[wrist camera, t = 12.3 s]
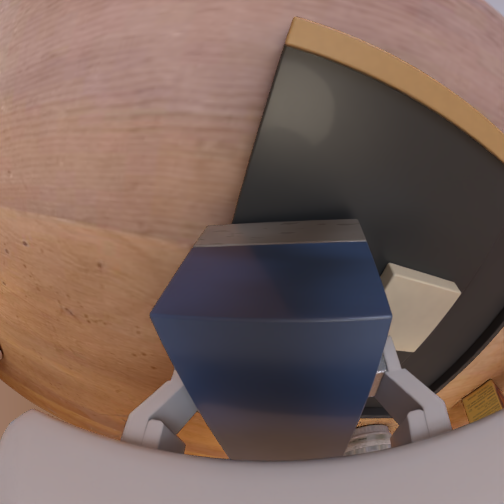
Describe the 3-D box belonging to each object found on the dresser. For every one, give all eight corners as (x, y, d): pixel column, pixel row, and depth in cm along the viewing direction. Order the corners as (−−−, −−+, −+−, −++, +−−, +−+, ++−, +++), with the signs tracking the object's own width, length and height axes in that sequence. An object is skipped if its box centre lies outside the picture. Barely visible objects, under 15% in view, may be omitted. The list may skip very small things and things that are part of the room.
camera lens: (329, 446, 25) (331, 507, 19) (338, 427, 22) (342, 501, 15) (382, 439, 24) (388, 497, 18) (399, 418, 21) (410, 487, 14)
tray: (335, 405, 19) (336, 417, 18) (502, 179, 9) (516, 188, 8) (402, 407, 20) (405, 417, 19) (552, 228, 9) (562, 237, 8)
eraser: (247, 391, 14) (231, 462, 11) (206, 224, 10) (146, 314, 6) (338, 392, 13) (338, 467, 10) (358, 217, 9) (394, 316, 5)
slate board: (191, 389, 19) (186, 409, 17) (290, 27, 7) (294, 15, 5) (326, 412, 20) (327, 431, 18) (511, 153, 8) (536, 166, 6)
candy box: (505, 389, 20) (531, 488, 7) (478, 408, 22) (499, 506, 9) (493, 375, 18) (527, 501, 5) (460, 399, 20) (485, 522, 7)
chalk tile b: (344, 331, 12) (347, 344, 11) (388, 261, 10) (394, 273, 9) (409, 341, 12) (414, 352, 12) (454, 281, 10) (462, 293, 9)
